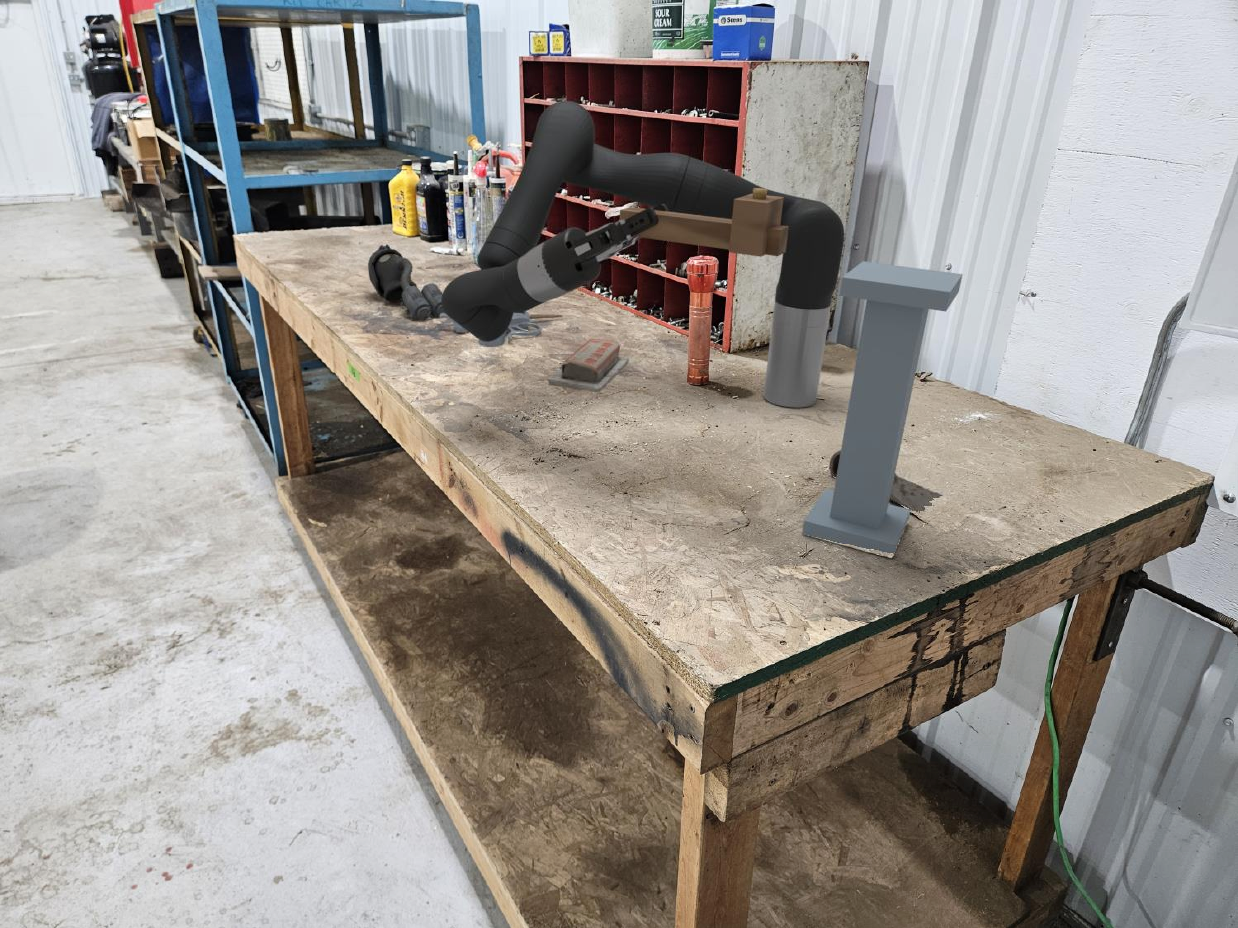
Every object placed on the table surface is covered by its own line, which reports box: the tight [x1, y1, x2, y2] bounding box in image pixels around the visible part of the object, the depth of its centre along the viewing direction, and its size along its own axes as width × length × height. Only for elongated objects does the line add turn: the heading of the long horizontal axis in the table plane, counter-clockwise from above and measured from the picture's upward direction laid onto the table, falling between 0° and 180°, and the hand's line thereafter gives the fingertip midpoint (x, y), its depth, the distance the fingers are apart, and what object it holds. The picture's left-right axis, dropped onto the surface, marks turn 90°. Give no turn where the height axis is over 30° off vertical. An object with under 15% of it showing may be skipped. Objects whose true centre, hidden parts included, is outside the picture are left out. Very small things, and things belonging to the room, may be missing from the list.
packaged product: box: [547, 338, 630, 393], centre depth 150 cm, size 18×5×10 cm
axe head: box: [828, 449, 944, 513], centre depth 110 cm, size 20×5×10 cm
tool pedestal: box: [801, 261, 963, 554], centre depth 95 cm, size 10×11×32 cm
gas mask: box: [367, 244, 446, 322], centre depth 187 cm, size 15×9×26 cm
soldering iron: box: [439, 311, 563, 348], centre depth 172 cm, size 6×28×16 cm
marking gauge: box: [619, 188, 789, 257], centre depth 98 cm, size 6×21×7 cm, turn 62°
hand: (660, 213), depth 101 cm, fingers closed on marking gauge, 3 cm apart
